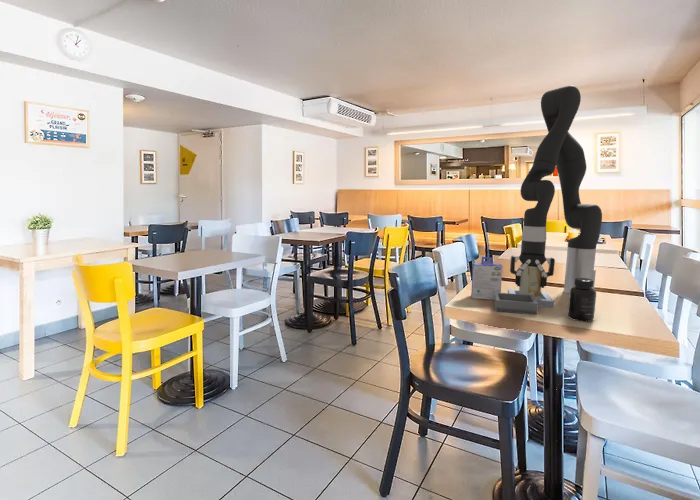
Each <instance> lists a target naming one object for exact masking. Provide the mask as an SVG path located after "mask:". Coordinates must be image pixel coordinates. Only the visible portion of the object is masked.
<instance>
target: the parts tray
mask: <svg viewBox="0 0 700 500" xmlns="http://www.w3.org/2000/svg"><path fill="white" fill-rule="evenodd" d="M493 303H494V309H495V312H501V313H514V314H524V315H525V314H526V315H527V314H528V315H538V309H539V308H538V307H539V306H538V303H537V301H536V299H535V298H534V296H533V295H525V294H511V293H508V292H501V293H497V292H495V293H494V300H493Z"/></svg>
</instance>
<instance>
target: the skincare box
mask: <svg viewBox="0 0 700 500" xmlns="http://www.w3.org/2000/svg"><path fill="white" fill-rule="evenodd" d="M521 267H522V266H521ZM542 276H543V275H542V273H541V271H540V269H539V268H538V267H532V266H526V267H525V269H524V271H522V273H521V274H520V286H518V287H519V288H518V290H519V294H525V295H533V296H534V298H535V299H541V298H540V294H541V290H542V288H541V282H542Z"/></svg>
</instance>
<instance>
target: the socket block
mask: <svg viewBox="0 0 700 500" xmlns="http://www.w3.org/2000/svg"><path fill="white" fill-rule="evenodd" d="M507 293H511V294H519V289H512V288H507ZM536 301H537V303H538V307H541V308H543V307H545V308H554V307H555V301H554V300H553V298H552V296H550V294H549V293H548V292H547V291H543V290H542V291H541V294H540V299H536Z"/></svg>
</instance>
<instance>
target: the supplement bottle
mask: <svg viewBox="0 0 700 500" xmlns="http://www.w3.org/2000/svg"><path fill="white" fill-rule="evenodd" d="M593 282H594V280H592V279H588V278H575V283H574V285H575V286H574V287H572V288H571V290H570V294H569V297H568V299H569V302H568V311H567V315H568V316H567V317H569V318H570V319H571V320H574V321H579V322H591V321H594V319H595V310H596V302H597V291H596V289H595V288H594V289H593V288H592V287H593V286H594V287H595V284H594V285H593Z"/></svg>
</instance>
